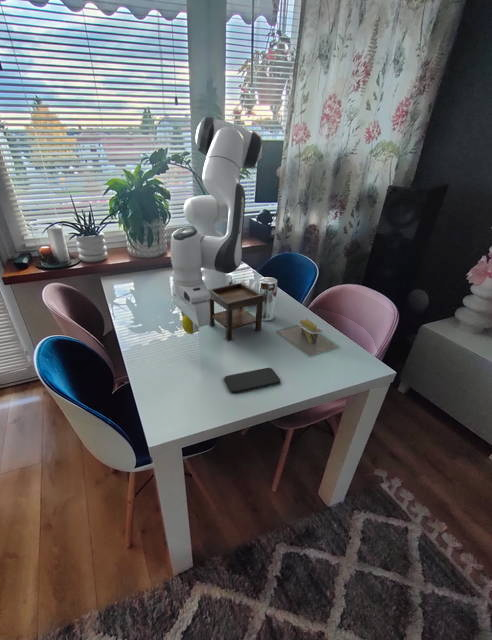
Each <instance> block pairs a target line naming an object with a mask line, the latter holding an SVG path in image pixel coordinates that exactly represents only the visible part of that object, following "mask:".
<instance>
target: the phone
mask: <svg viewBox="0 0 492 640" xmlns="http://www.w3.org/2000/svg"><path fill="white" fill-rule="evenodd" d="M223 381H224V382H225V385H226V386H227V389H228V391H229V392H230V393H233V394H236V393H240V392H246V391H250V390H254V389H259V388H264V387H268V386H269V387H270V386H274V385H278V384H280V383H281V379H280V377H279V376H278V374H277V373H276V372H275V370H274V369H273V368H272V367H264V368H258V369H254V370H248V371H244V372H239V373H234V374H228V375H226V376H224V378H223Z"/></svg>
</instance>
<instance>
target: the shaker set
mask: <svg viewBox="0 0 492 640" xmlns="http://www.w3.org/2000/svg"><path fill="white" fill-rule="evenodd" d="M238 283H243V284H245V280H244V279H241V280H240V281H239V282H238ZM245 285H246V284H245ZM250 288H252V289H254V290H255V291H257V292H258V288H259V280H255V281H254V282H253V284H252V285H251V287H250Z"/></svg>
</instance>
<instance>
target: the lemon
mask: <svg viewBox="0 0 492 640" xmlns="http://www.w3.org/2000/svg"><path fill="white" fill-rule="evenodd" d="M181 326H182V329H183V331H184V332H185V333H187V334H190V335H193V334H196V332H193V331H192V326H193V321H192V320H191V319H189V318H188V317H187V316H186V315H184V316H183V317H182V319H181Z"/></svg>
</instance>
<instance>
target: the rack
mask: <svg viewBox="0 0 492 640" xmlns="http://www.w3.org/2000/svg"><path fill="white" fill-rule="evenodd" d="M208 291H209V292H210V295H211V298H210V299H209V300H208V301H209V304H210V322H209V324H208V325H209V326H210V327H214V326H215V323H216V322H217V323H218V324H220V325H221V327H223V328H224V329H225V340H227V342H229V341H233V330H236V329H239V328H240V329H241V328H243V327H247V326H251V325H253V324H255V325H254V331H255V332H257V333H258V332H261V331H262V322H263V320H262V309H263V294H261V293H259V292H257V291H255V290H254V289H252V288H251V287H250V286H248V285H247V284H243V283H239V282H237V283H233V284H229V285H227V286H223V287H218V288H214V289H208ZM215 303H216V304H218V305H219V306H220V307H221V308H223V309H224V310H223V311H219V312H215ZM254 305H255V306H256V307H255V315H253V314H252V313H250V312H249V311H247V310H246V309H244V308H247V307H250V306H254ZM215 321H216V322H215Z"/></svg>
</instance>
